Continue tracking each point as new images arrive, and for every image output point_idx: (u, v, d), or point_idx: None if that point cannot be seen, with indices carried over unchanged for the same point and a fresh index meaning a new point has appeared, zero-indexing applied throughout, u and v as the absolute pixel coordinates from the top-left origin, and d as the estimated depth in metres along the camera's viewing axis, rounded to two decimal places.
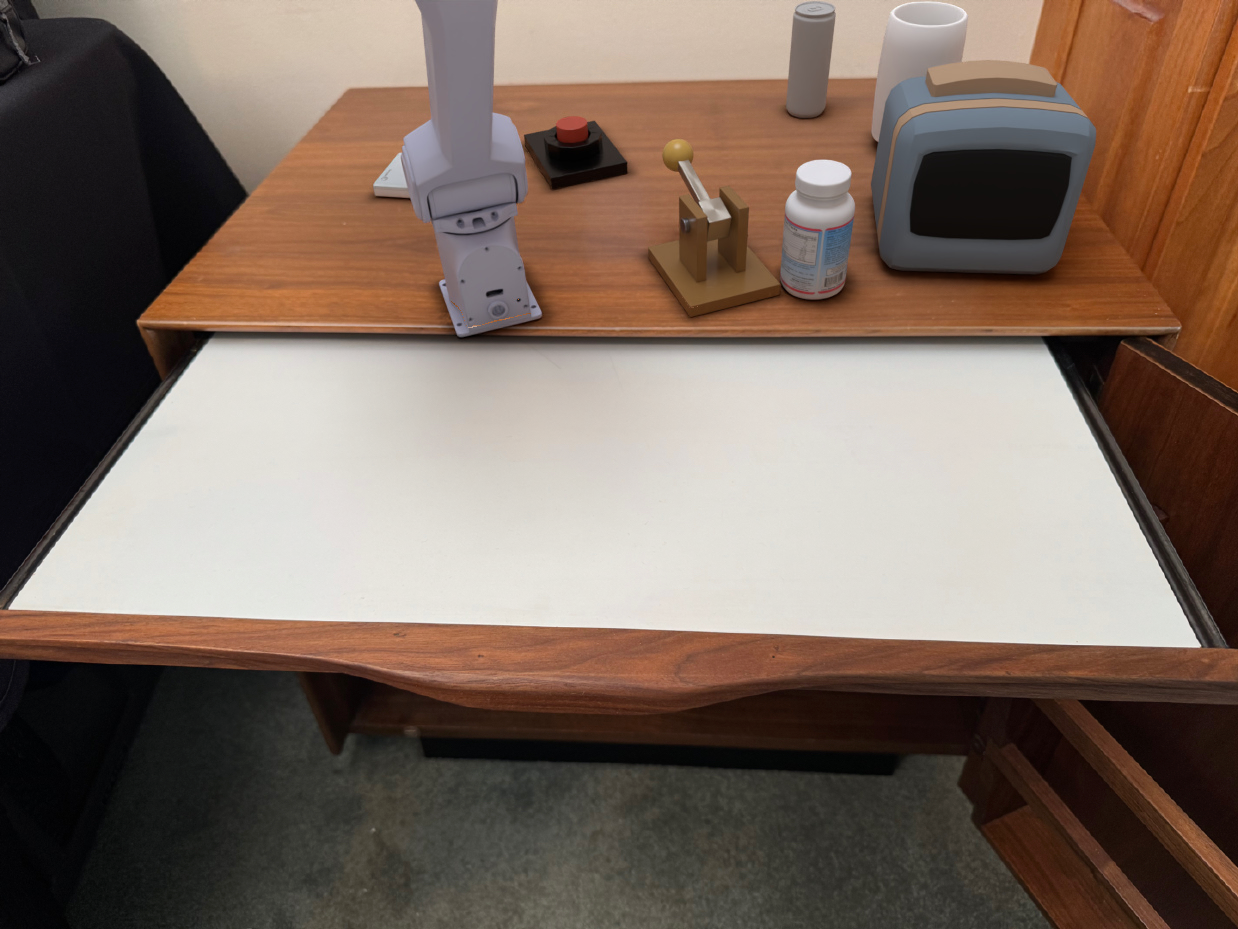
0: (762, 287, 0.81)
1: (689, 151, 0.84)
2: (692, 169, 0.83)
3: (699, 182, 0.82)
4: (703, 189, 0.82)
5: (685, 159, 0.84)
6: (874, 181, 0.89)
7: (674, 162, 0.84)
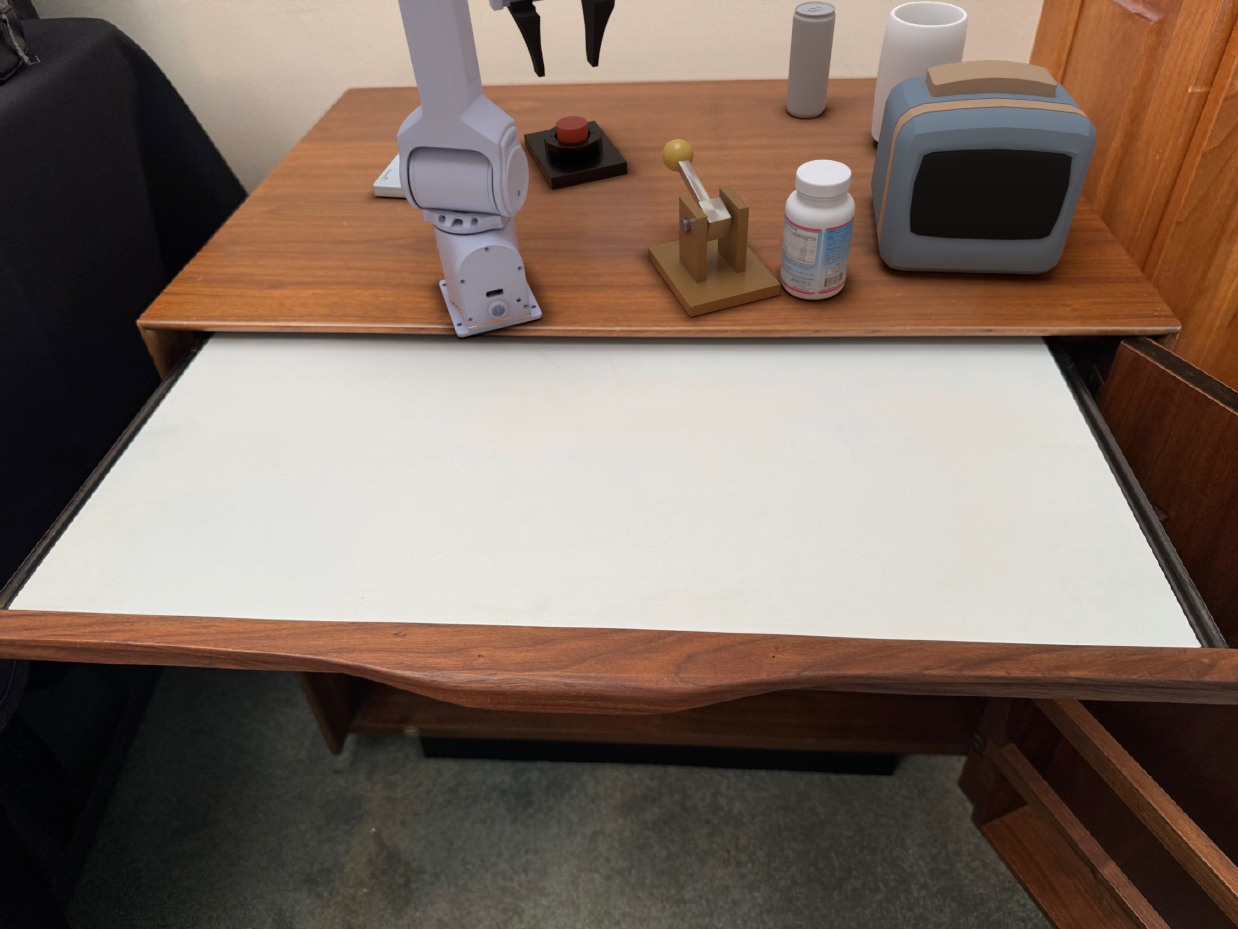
0: (762, 287, 0.81)
1: (689, 151, 0.84)
2: (692, 169, 0.83)
3: (699, 182, 0.82)
4: (703, 189, 0.82)
5: (685, 159, 0.84)
6: (874, 181, 0.89)
7: (674, 162, 0.84)
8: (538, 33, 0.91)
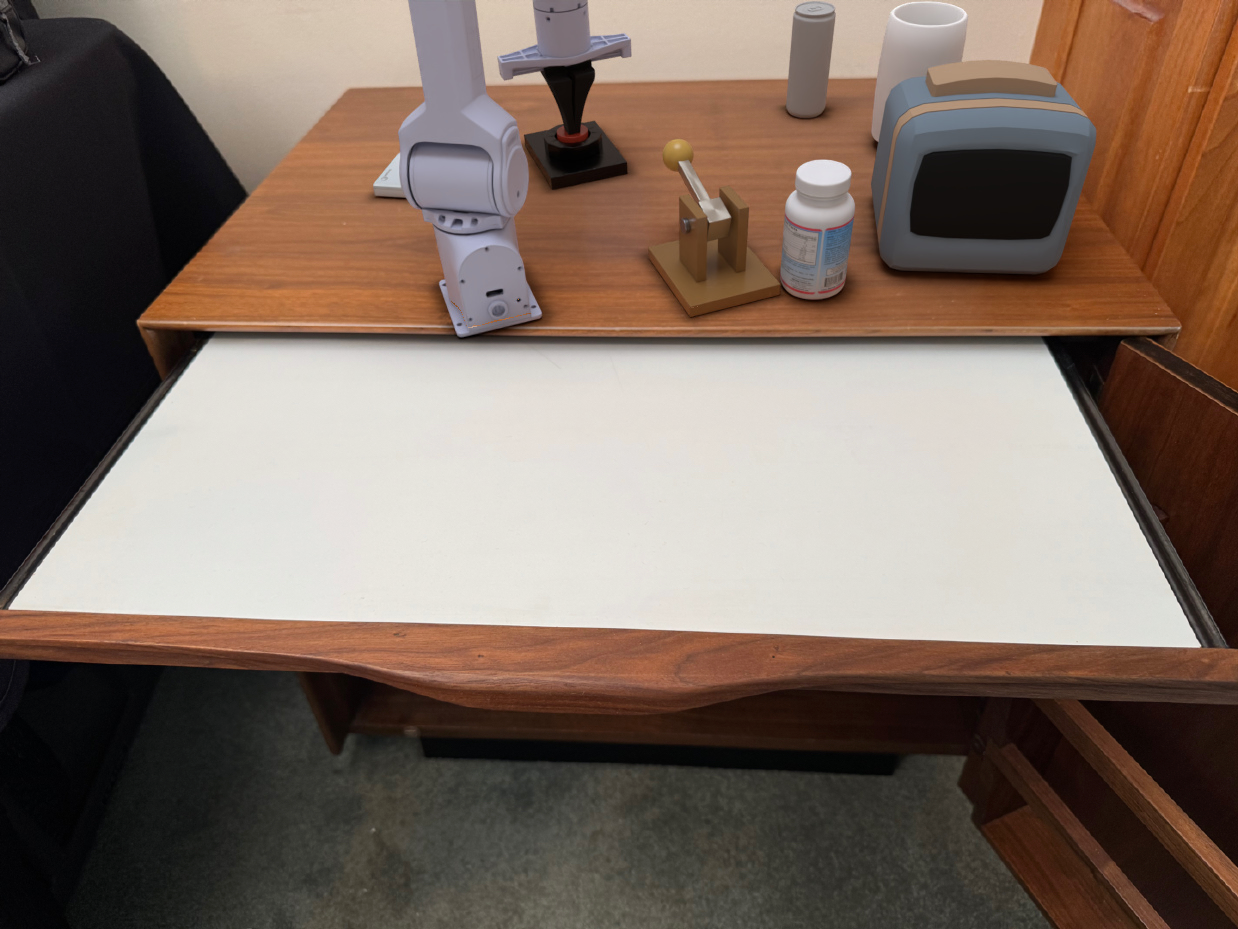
0: (762, 287, 0.81)
1: (689, 151, 0.84)
2: (692, 169, 0.83)
3: (699, 182, 0.82)
4: (703, 189, 0.82)
5: (685, 159, 0.84)
6: (874, 181, 0.89)
7: (674, 162, 0.84)
8: (569, 95, 0.96)
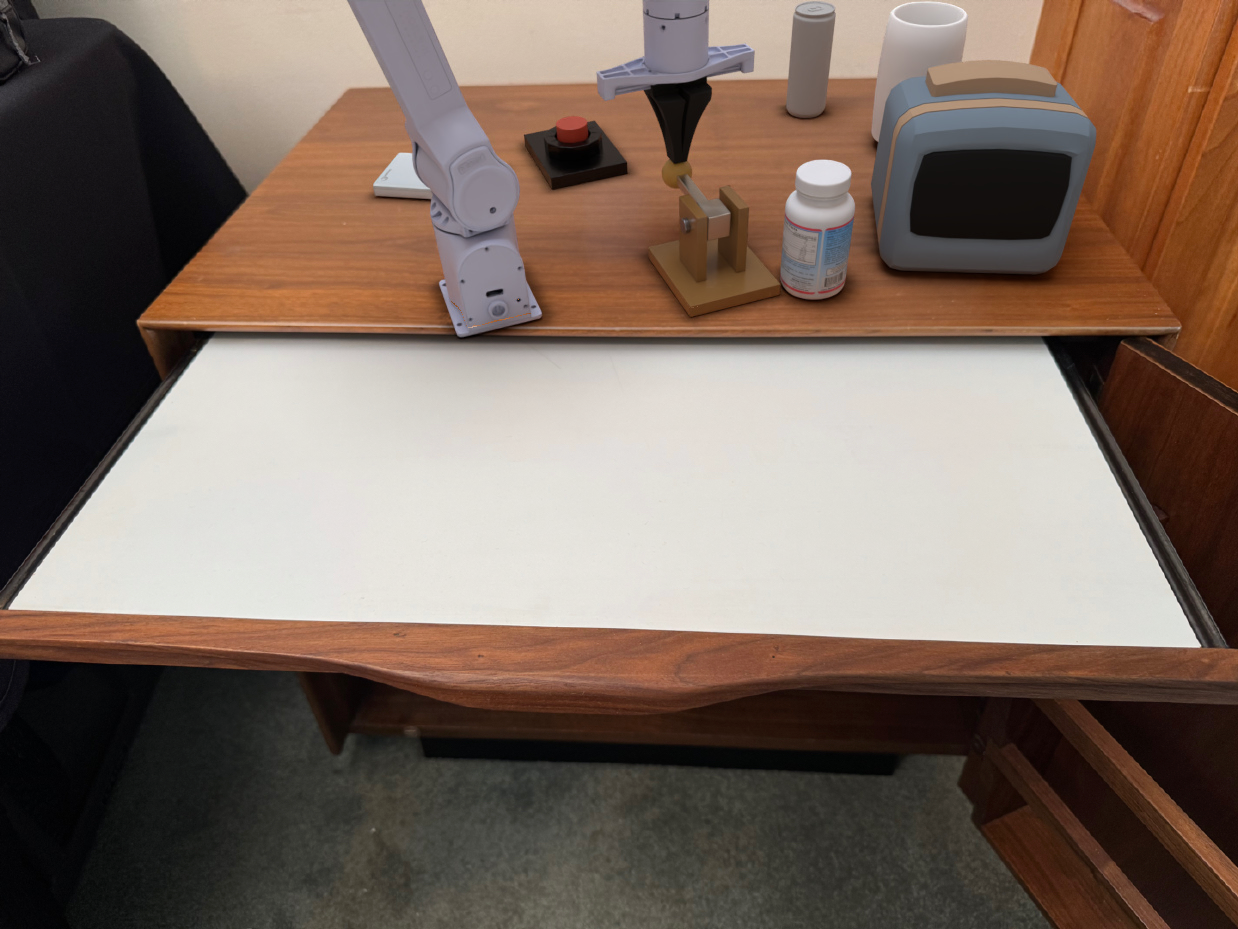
0: (762, 287, 0.81)
1: (687, 165, 0.85)
2: (691, 181, 0.84)
3: (698, 190, 0.83)
4: (702, 195, 0.82)
5: (684, 173, 0.85)
6: (874, 181, 0.89)
7: (673, 177, 0.85)
8: (680, 118, 0.81)
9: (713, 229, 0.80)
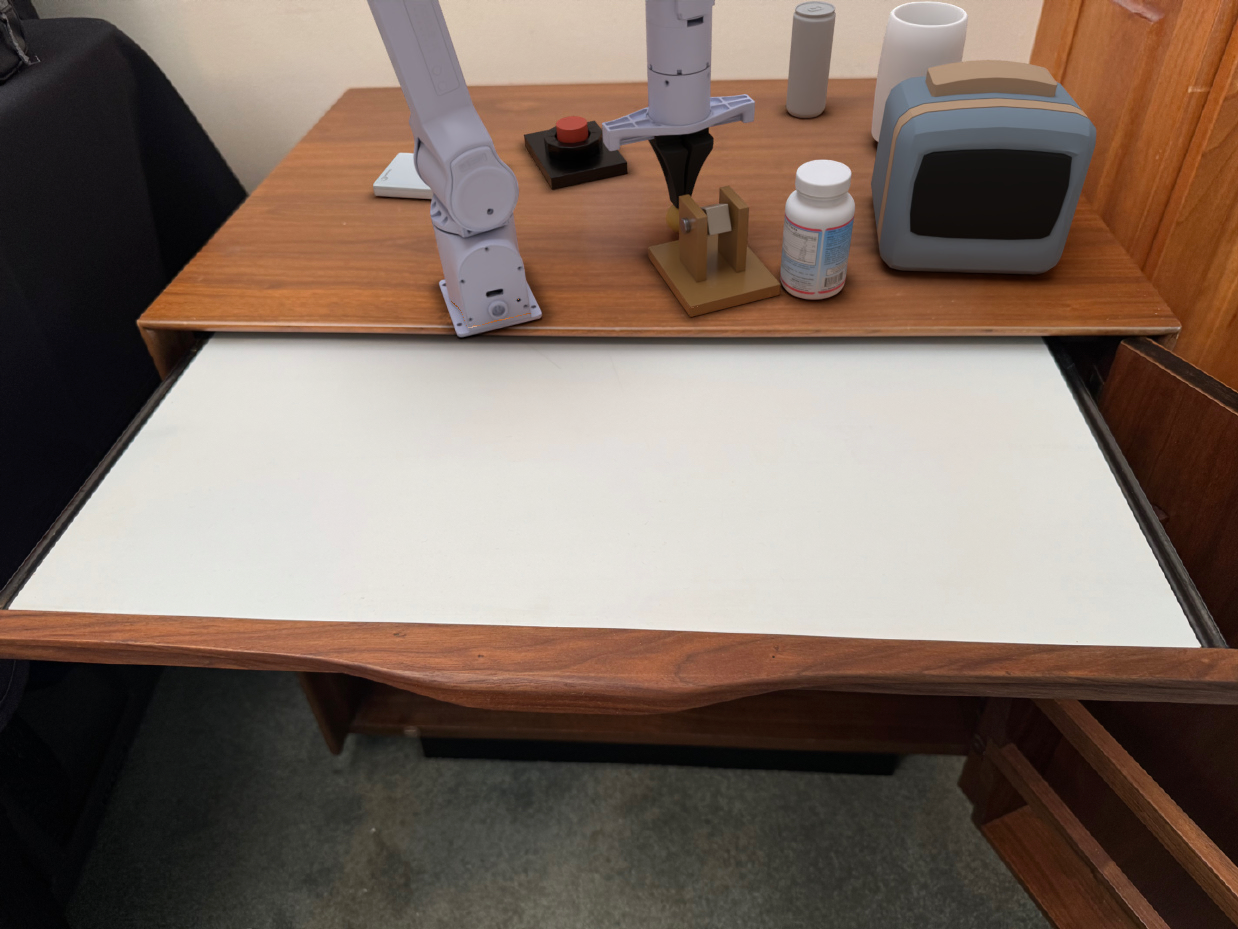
0: (762, 287, 0.81)
1: None
2: None
3: None
4: None
5: None
6: (874, 181, 0.89)
7: (676, 216, 0.87)
8: (682, 166, 0.83)
9: (713, 222, 0.79)
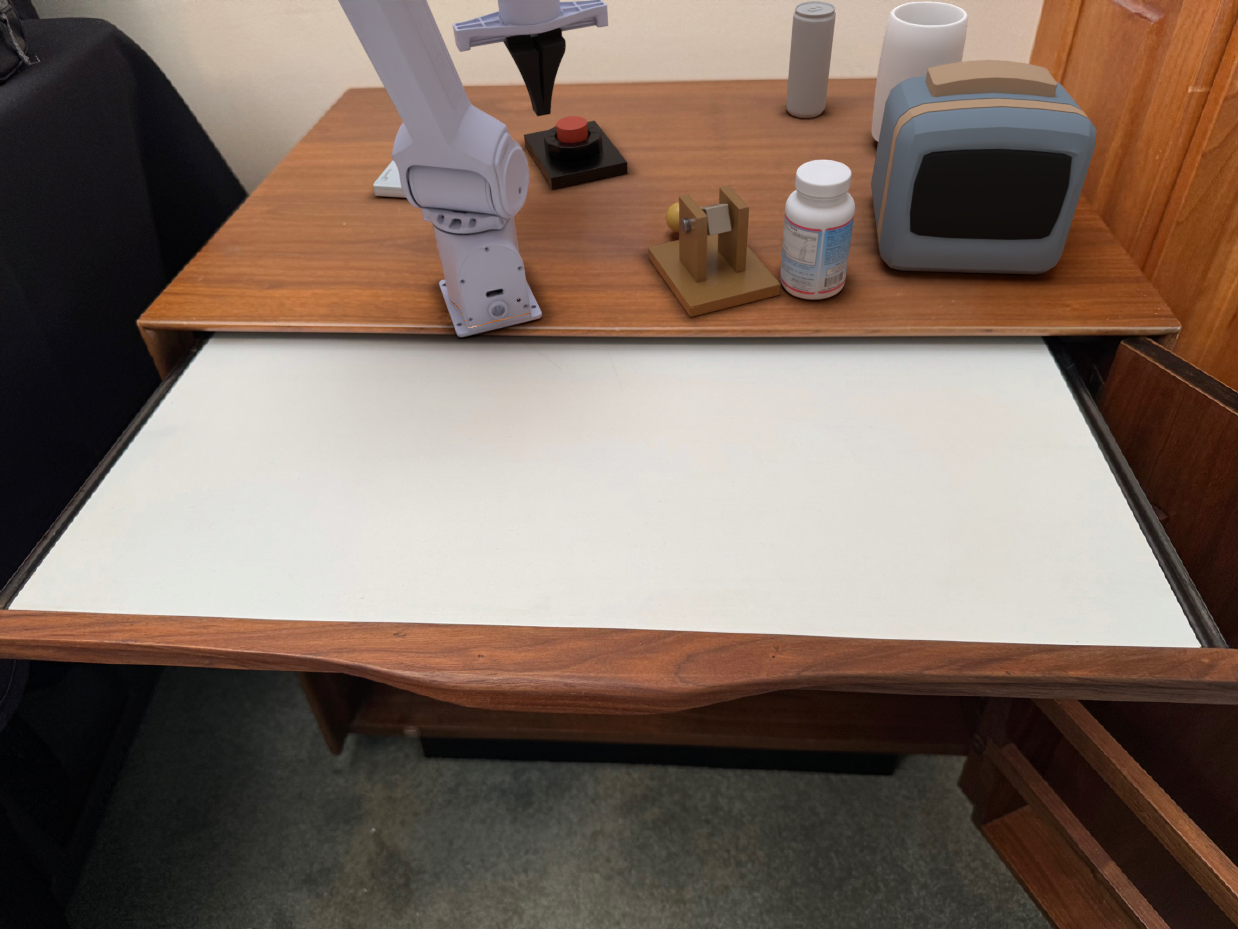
0: (762, 287, 0.81)
1: None
2: None
3: None
4: None
5: None
6: (874, 181, 0.89)
7: (676, 216, 0.87)
8: (536, 70, 0.84)
9: (713, 222, 0.79)
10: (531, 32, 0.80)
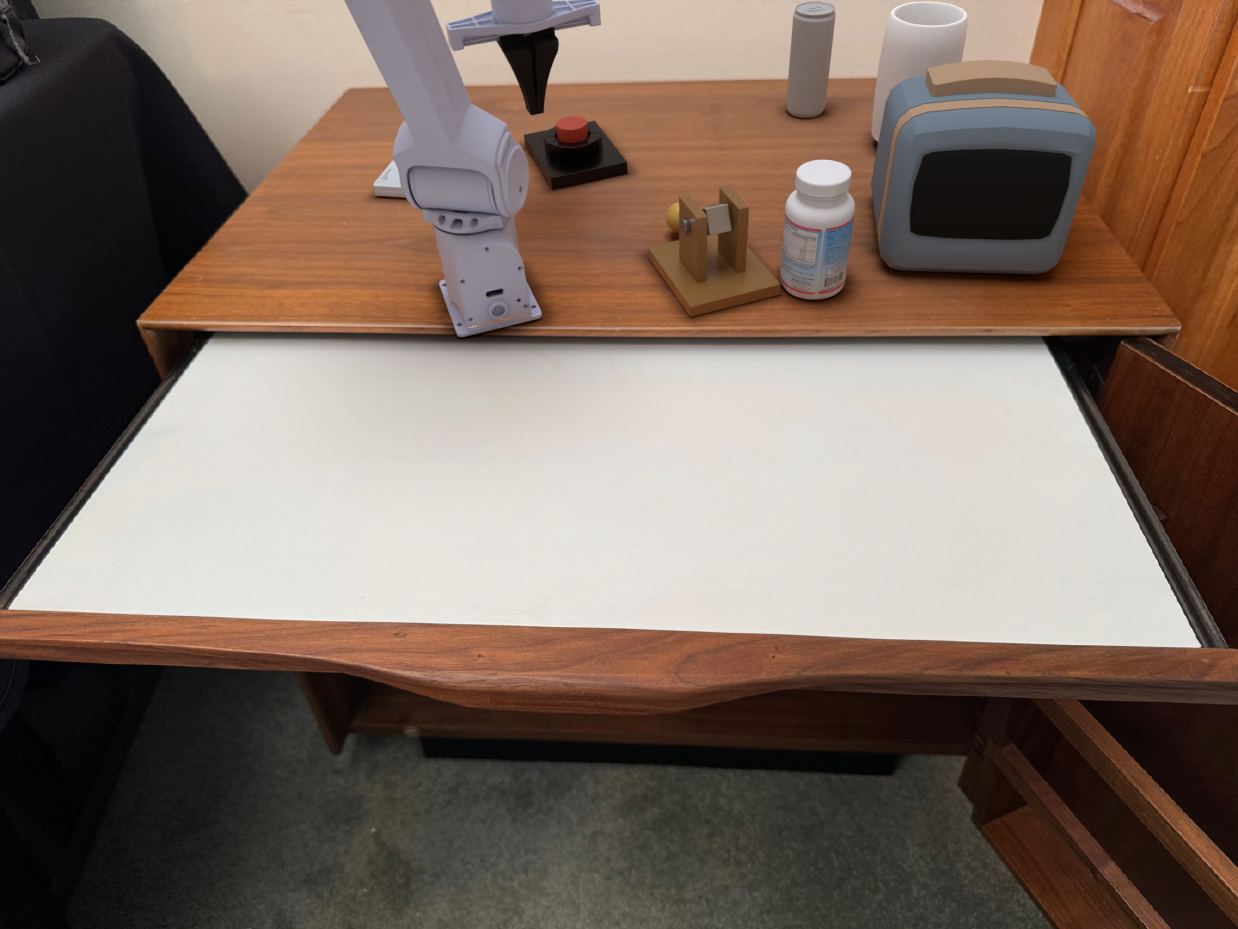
0: (762, 287, 0.81)
1: None
2: None
3: None
4: None
5: None
6: (874, 181, 0.89)
7: (676, 216, 0.87)
8: (530, 69, 0.84)
9: (713, 222, 0.79)
10: (524, 31, 0.81)
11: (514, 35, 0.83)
